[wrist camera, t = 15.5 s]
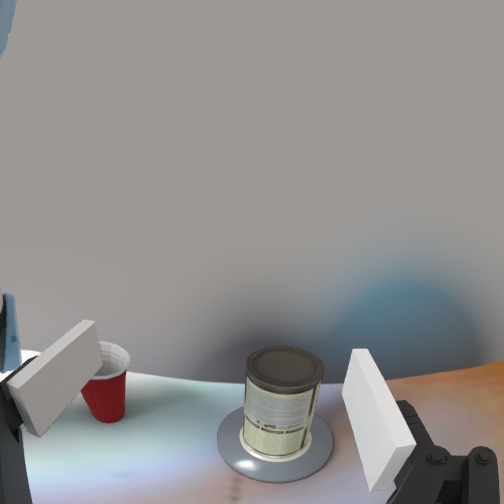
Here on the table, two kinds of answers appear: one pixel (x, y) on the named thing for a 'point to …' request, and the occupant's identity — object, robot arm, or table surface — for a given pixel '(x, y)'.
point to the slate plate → (273, 469)
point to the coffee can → (280, 400)
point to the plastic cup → (108, 384)
